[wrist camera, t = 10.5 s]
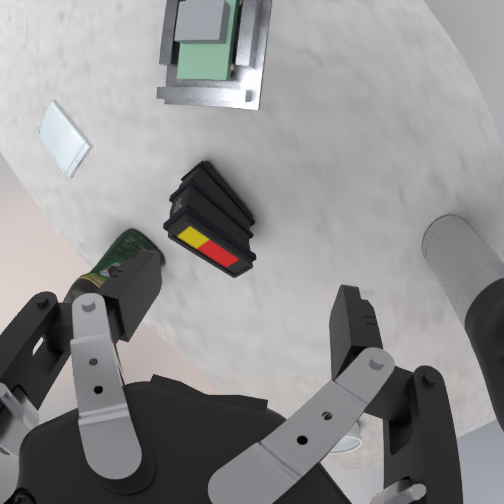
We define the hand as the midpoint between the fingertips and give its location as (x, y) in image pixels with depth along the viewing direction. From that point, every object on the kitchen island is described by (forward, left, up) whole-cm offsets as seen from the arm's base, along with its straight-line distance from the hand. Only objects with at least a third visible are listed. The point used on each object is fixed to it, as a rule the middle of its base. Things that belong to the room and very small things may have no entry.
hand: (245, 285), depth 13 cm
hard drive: (+38, 0, -31) cm, 49 cm away
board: (+10, -16, -26) cm, 32 cm away
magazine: (+7, +8, -30) cm, 32 cm away
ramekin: (-26, +65, -30) cm, 76 cm away
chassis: (+11, -16, -30) cm, 36 cm away
